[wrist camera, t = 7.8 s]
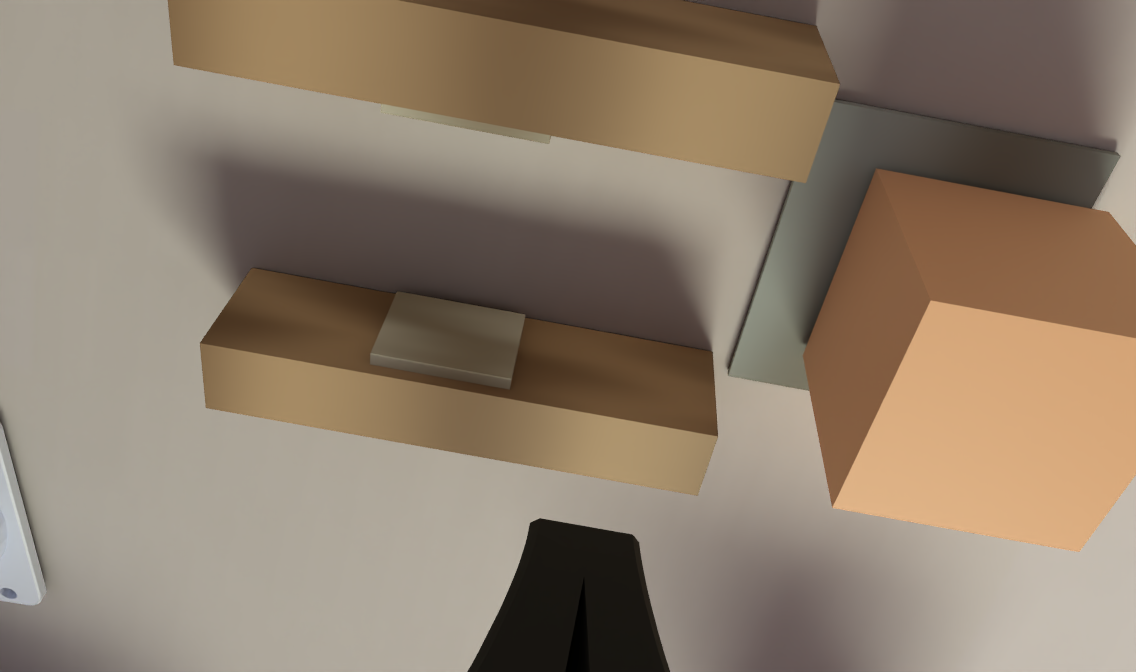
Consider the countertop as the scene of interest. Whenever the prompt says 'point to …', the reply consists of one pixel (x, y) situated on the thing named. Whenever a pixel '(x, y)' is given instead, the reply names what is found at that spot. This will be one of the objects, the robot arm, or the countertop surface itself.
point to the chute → (595, 115)
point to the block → (978, 362)
